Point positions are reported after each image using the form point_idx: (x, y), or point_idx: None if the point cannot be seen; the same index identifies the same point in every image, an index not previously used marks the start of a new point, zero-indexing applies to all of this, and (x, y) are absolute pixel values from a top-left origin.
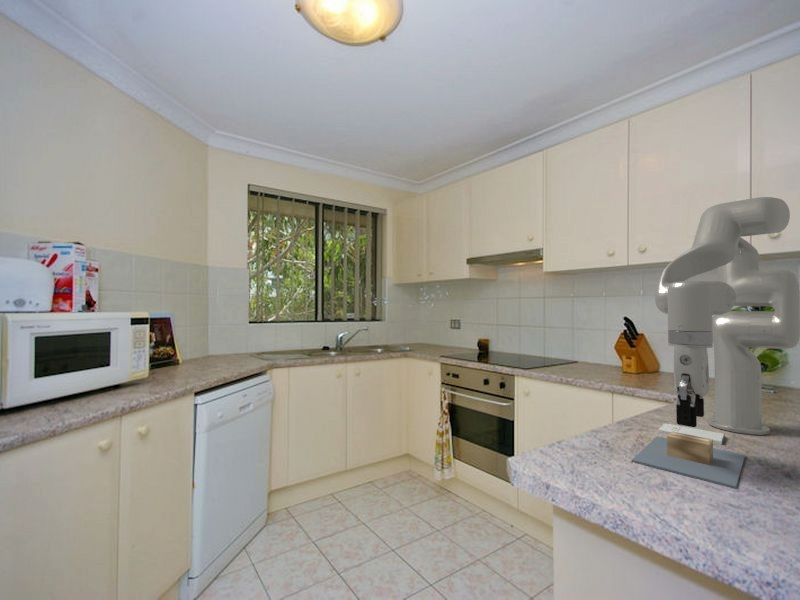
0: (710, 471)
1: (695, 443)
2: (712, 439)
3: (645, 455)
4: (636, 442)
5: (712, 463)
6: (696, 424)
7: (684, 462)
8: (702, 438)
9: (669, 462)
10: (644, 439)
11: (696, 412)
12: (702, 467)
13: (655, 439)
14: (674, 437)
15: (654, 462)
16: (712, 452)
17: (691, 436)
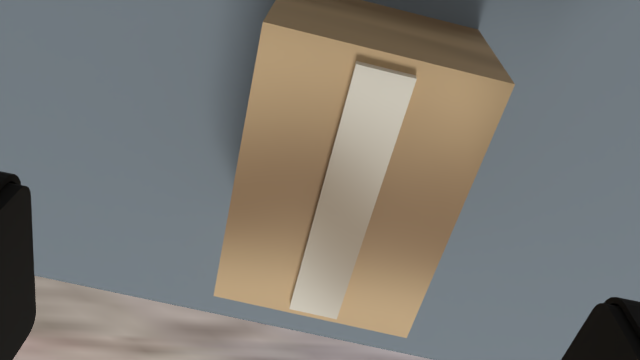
0: (627, 42)
1: (473, 173)
2: (267, 26)
3: (474, 338)
4: (193, 351)
5: (418, 2)
6: (633, 311)
7: (497, 170)
8: (295, 110)
9: (546, 245)
10: (88, 315)
11: (8, 267)
12: (555, 80)
13: (70, 276)
14: (414, 300)
15: (589, 310)
16: (313, 2)
17: (285, 186)
